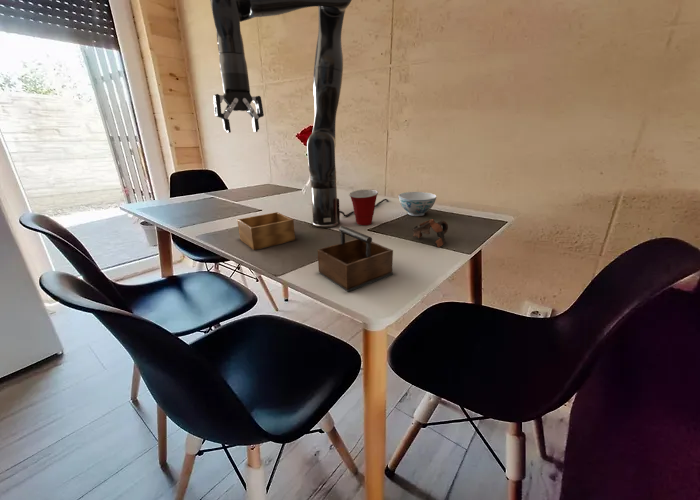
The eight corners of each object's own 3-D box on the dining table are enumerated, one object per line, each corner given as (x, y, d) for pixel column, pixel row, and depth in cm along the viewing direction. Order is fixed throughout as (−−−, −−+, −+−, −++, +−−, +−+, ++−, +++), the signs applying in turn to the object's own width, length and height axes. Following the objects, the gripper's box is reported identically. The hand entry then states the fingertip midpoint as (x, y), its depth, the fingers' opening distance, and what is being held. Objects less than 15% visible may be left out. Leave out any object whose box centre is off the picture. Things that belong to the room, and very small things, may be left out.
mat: (362, 259, 86) (362, 257, 86) (392, 274, 78) (392, 272, 77) (319, 273, 79) (319, 271, 78) (347, 292, 70) (347, 289, 70)
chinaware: (397, 218, 123) (398, 199, 120) (398, 208, 137) (399, 191, 134) (436, 219, 121) (438, 200, 118) (433, 209, 135) (434, 192, 132)
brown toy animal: (434, 252, 92) (422, 227, 91) (415, 255, 100) (403, 232, 100) (460, 234, 97) (449, 210, 96) (440, 238, 105) (429, 217, 105)
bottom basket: (279, 231, 111) (277, 212, 108) (295, 240, 102) (293, 219, 99) (240, 239, 103) (237, 219, 100) (253, 250, 94) (250, 228, 91)
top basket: (361, 257, 86) (361, 220, 82) (392, 272, 77) (393, 231, 73) (318, 271, 79) (316, 230, 74) (347, 289, 70) (346, 244, 66)
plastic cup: (344, 221, 121) (344, 190, 116) (369, 217, 125) (370, 187, 120) (356, 229, 111) (356, 196, 107) (383, 225, 115) (383, 193, 111)
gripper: (212, 69, 85) (222, 133, 91) (262, 73, 92) (268, 131, 99) (205, 73, 90) (215, 132, 96) (253, 76, 98) (259, 131, 104)
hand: (242, 132), depth 97 cm, fingers open, 8 cm apart
